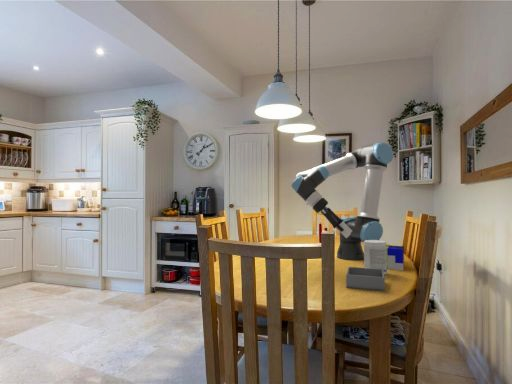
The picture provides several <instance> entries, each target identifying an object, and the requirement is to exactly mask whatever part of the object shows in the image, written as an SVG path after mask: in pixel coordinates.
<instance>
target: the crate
mask: <svg viewBox="0 0 512 384" xmlns="http://www.w3.org/2000/svg"><path fill="white" fill-rule="evenodd" d="M345 276H346V277H345V284H346V285H345V286H346V288H347V289H358V290H367V291H368V290H369V291H378V292H385V291H386V283H385V281H386V279H385V275H384V271H383V269H371V268H365V267H356V266H348V268H347V271H346V275H345Z"/></svg>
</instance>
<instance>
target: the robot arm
mask: <svg viewBox="0 0 512 384" xmlns="http://www.w3.org/2000/svg"><path fill="white" fill-rule="evenodd" d="M393 160H394V152H393V148H392V147H391V146H390V145H389V144H388V143H387V142H376V143H372V144H369V145H364V146H360V147H359V148H357V149H355V150H353V151H351V152H350V151H349V152H348V153H346V155H345V156H342V157H340V158H337V159H334V160H332V161H329V162H326V163H323V164H320V165H318V166H315V167H313V168H310V169H307V170H304V171H300V172H298V173H297V174H296V175H295V179H294V180H293V181H292V183H291V188H292V189H293V191H294V192H295V193H296V194H298V195H299V197H301V198H302V199H303V200H304V202H305V203H306V205H307V206H308V205H309V207H311V208H312V210H314V212H316V213H317V214H319V213H321V214H322V215H323V216H324V217H325V218H326V220H327V221H328V223H330V225H331V226H332V228H333V229H334V230H335V229H337V230H338V231H339V245H338V248H337V249H338V250H337V251H336V257H337V258H338V259H341V260H350V261H357V260H364V248H363V247H362V243H364V241H365V240H381V238H382V237H383V233H384V228H383V226H382V224H381V223H380V217H379V216H378V212H379V211H378V210H379V206H380V205H379V204H380V198H381V191H382V183H383V175H384V172H385V171H386V170H387V169H388V164H390V163H391V162H392V161H393ZM362 167H363V168H364V169H365V179H364V184H363V185H364V186H363V191H362V192H363V193H362V199H361V205H360V211H359V214H357V215H356V216H350V217H349V216H348V217H340V216H339V215H337V214H336V213H335V212H334V211H332V209H331V208H330V207H327V206H328V204H329V202H328V200H327V199H325V198H324V197H323V195H322V194H321V193H320V192H319V191H317V190H316V188H317V187H319V186H320V185H322V183H323V182H324V181H326V180H327V179H328V178H329V177H331V176H334V175H336V174H338V173H342V172H344V171H347V170H350V169H351V170H355V169H358V168H362Z"/></svg>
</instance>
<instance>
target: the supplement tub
mask: <svg viewBox="0 0 512 384" xmlns="http://www.w3.org/2000/svg"><path fill="white" fill-rule="evenodd" d="M386 245H387V241H385V240H381V239H379V240H365V241H364V242H363V252H364V259H363V260H364V261H363V262H364V268H371V269H383V271H384V276H385V275H387V274H388V269H387V252H386Z"/></svg>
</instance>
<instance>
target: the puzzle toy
mask: <svg viewBox="0 0 512 384" xmlns="http://www.w3.org/2000/svg"><path fill="white" fill-rule="evenodd" d="M386 252H387V270H393V269H394V271H396V270H397V271H404V269H405V246H404V245H389V244H386Z"/></svg>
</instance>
